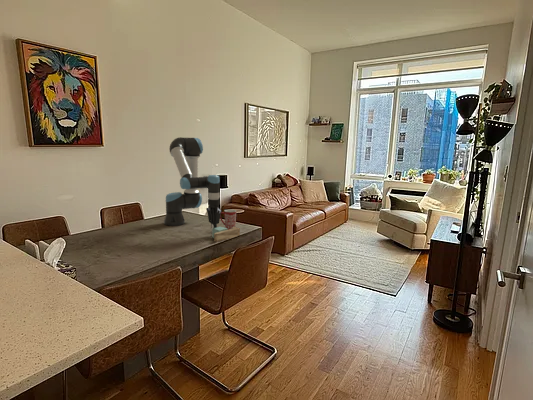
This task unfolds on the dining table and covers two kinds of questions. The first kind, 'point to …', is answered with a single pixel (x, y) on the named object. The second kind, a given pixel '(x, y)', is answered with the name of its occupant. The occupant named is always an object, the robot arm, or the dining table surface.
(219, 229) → the block
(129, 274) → the dining table surface
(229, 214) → the mug
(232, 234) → the stop board
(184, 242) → the dining table surface
